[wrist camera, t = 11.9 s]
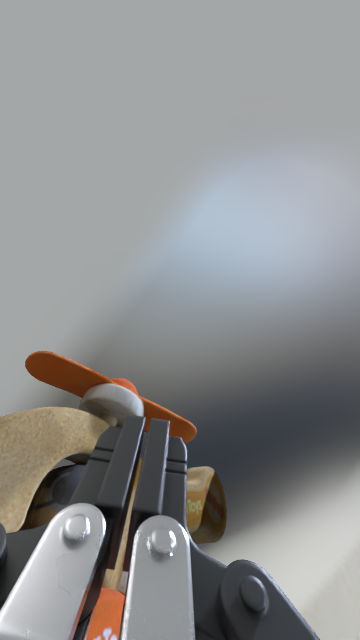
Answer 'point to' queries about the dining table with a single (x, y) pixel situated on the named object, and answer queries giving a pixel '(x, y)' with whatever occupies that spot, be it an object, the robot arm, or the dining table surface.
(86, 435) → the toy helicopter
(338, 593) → the dining table surface
